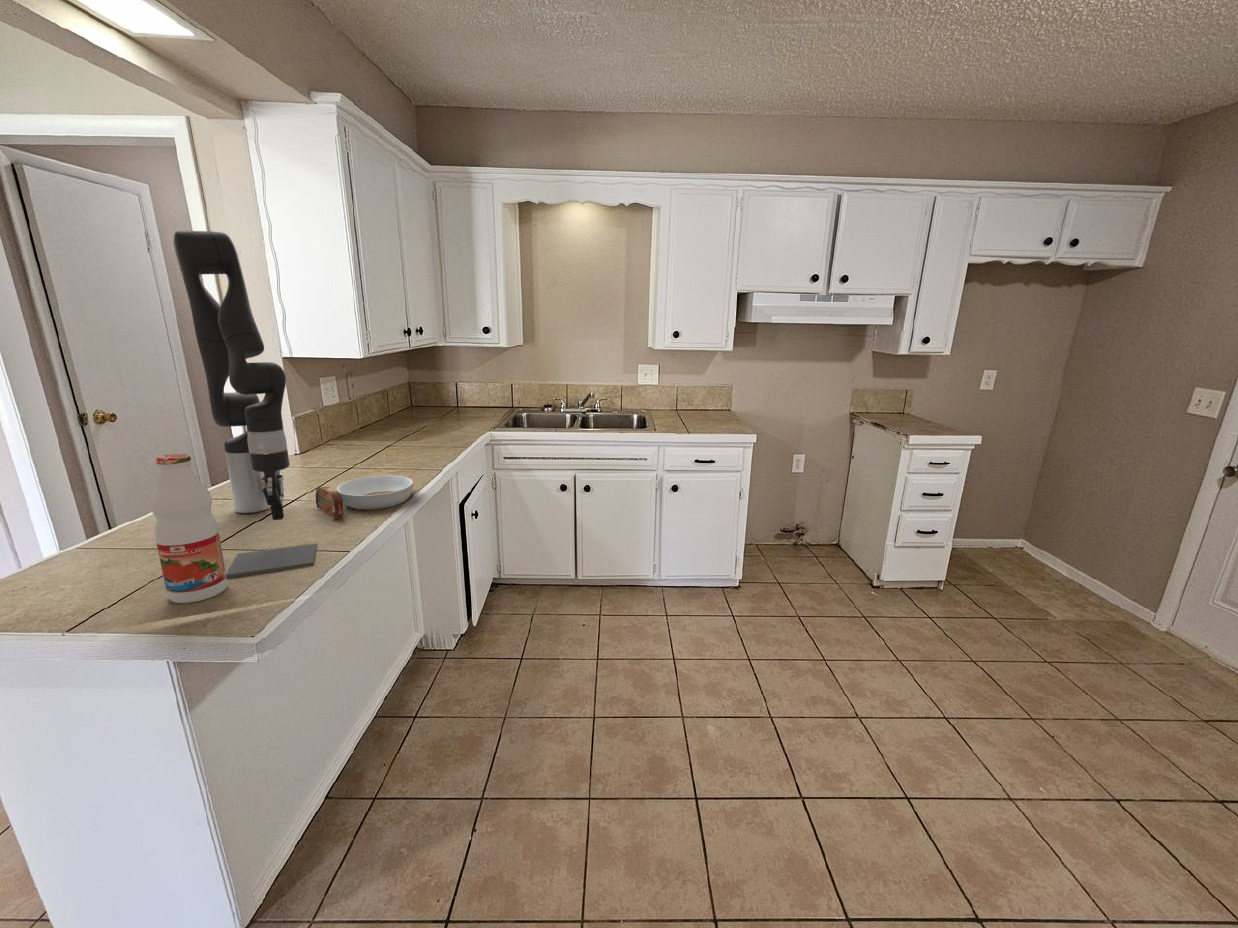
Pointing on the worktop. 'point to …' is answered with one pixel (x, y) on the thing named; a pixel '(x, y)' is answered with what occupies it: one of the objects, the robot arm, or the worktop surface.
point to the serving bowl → (359, 487)
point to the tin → (330, 502)
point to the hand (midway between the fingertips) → (278, 518)
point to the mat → (272, 560)
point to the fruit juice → (186, 533)
